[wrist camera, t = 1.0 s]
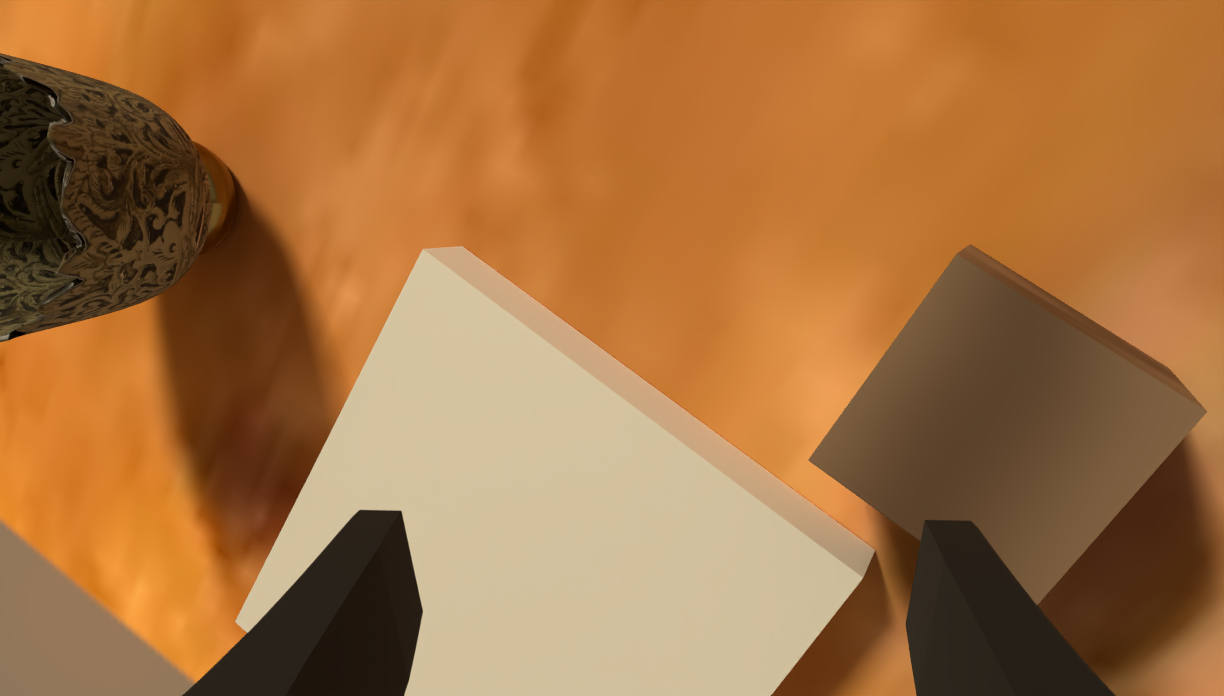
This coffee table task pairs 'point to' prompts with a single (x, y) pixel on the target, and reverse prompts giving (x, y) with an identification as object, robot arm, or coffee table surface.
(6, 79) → the cup
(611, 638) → the base board
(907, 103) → the coffee table surface
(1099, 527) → the walnut block
